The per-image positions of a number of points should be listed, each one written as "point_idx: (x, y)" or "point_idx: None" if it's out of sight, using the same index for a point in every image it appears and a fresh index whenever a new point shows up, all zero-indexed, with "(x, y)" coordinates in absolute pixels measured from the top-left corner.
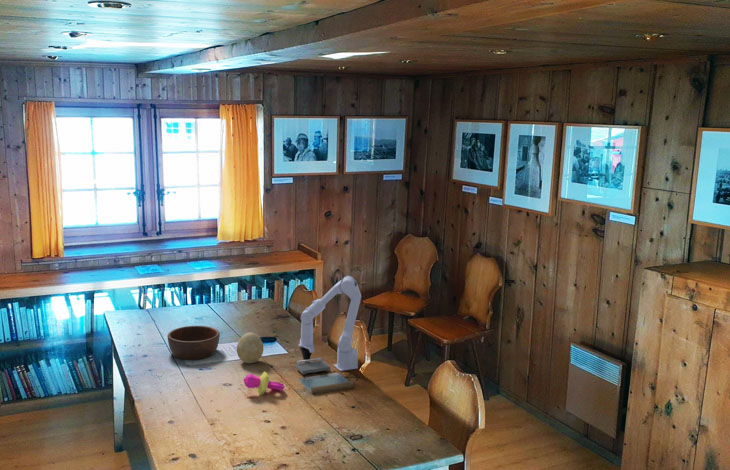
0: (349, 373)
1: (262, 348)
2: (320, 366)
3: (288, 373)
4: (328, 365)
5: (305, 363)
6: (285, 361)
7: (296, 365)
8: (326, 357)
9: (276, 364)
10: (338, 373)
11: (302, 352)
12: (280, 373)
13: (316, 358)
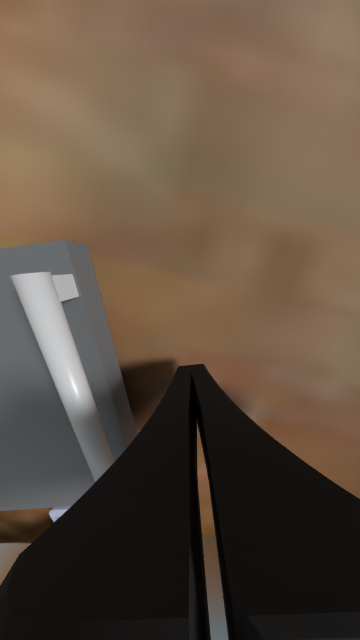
0: (25, 524)
1: None
2: (2, 461)
3: (9, 146)
4: (26, 508)
5: (83, 365)
6: (350, 198)
7: (23, 246)
8: None
9: (316, 38)
10: None
11: (208, 458)
12: (3, 20)
13: None
